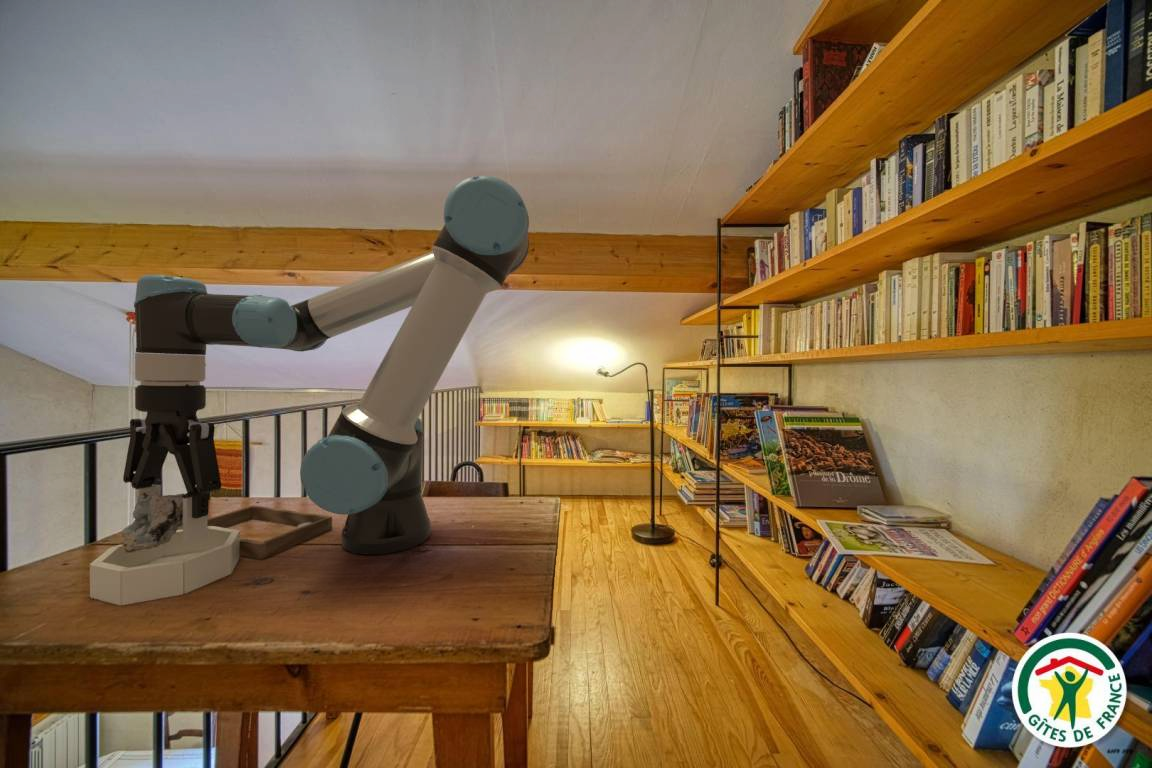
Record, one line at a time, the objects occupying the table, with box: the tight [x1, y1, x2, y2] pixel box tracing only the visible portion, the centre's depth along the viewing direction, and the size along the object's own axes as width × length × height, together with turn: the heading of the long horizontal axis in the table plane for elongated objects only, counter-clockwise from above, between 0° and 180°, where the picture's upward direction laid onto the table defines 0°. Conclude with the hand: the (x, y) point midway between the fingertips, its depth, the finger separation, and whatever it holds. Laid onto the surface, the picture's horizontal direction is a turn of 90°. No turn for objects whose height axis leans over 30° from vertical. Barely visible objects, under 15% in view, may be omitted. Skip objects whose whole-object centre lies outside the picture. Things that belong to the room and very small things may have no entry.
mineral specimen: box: [119, 491, 185, 553], centre depth 62 cm, size 10×8×10 cm
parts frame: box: [177, 504, 333, 560], centre depth 78 cm, size 20×14×2 cm
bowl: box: [89, 526, 241, 606], centre depth 63 cm, size 15×15×4 cm
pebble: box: [296, 522, 313, 529], centre depth 80 cm, size 3×3×2 cm
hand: (171, 534), depth 63 cm, fingers closed on mineral specimen, 9 cm apart
